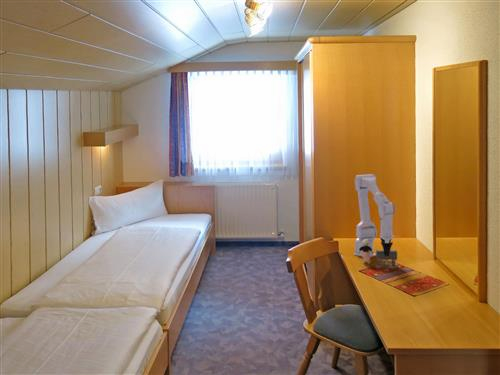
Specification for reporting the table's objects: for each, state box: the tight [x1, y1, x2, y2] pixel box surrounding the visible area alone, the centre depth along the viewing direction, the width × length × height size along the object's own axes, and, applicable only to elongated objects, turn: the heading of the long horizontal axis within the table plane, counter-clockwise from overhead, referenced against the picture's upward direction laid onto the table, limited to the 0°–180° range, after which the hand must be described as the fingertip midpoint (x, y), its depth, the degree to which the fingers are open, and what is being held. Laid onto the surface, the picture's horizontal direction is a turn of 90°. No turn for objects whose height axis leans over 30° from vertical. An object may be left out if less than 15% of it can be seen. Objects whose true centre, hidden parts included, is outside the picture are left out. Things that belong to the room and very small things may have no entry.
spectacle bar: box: [375, 249, 398, 261], centre depth 266 cm, size 10×3×4 cm, turn 78°
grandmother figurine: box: [358, 239, 374, 265], centre depth 273 cm, size 8×4×13 cm, turn 84°
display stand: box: [374, 259, 399, 269], centre depth 266 cm, size 11×6×4 cm, turn 78°
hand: (386, 253), depth 266 cm, fingers open, 7 cm apart
